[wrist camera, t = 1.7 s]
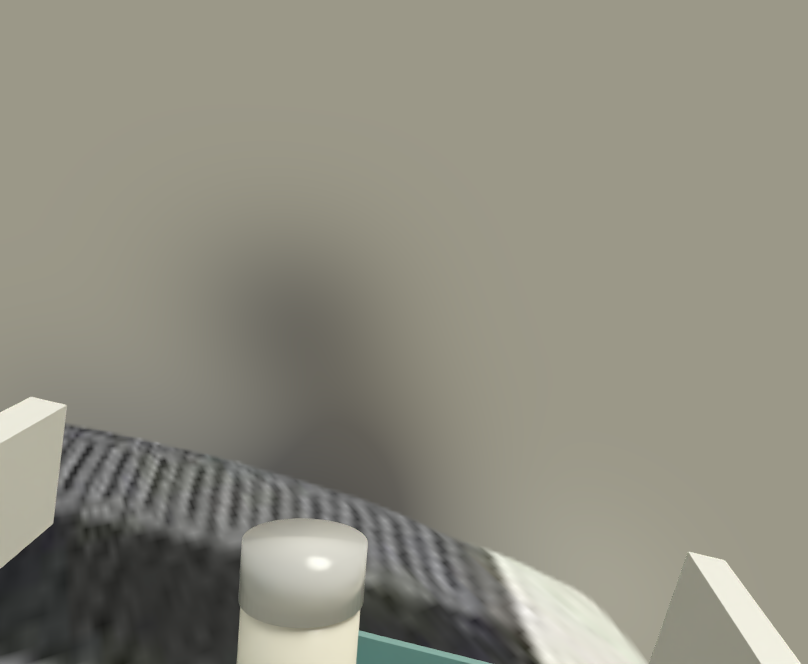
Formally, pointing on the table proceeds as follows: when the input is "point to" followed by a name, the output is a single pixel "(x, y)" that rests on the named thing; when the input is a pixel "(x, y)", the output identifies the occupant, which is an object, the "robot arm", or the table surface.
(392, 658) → the parts tray
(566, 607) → the table surface
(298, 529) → the fuse
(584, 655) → the table surface
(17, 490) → the robot arm
